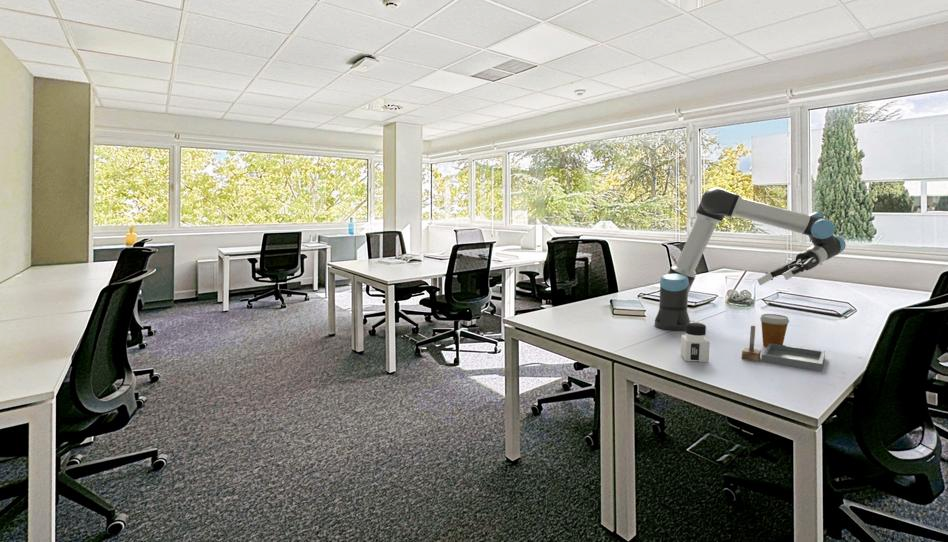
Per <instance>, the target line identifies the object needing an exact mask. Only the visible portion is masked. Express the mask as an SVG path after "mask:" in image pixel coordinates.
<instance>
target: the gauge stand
mask: <svg viewBox="0 0 948 542" xmlns="http://www.w3.org/2000/svg"><path fill="white" fill-rule="evenodd" d="M749 333H750V334H749V336H750V337H749V347H744V348H743V350H742V351H741V360H745V361H752V362H756V361H757V362H759V361H760V359H761V349H757V348H755V341H756V340H755V338H756V325H754V324H753V325H750V332H749Z"/></svg>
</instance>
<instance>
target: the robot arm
mask: <svg viewBox="0 0 948 542" xmlns="http://www.w3.org/2000/svg"><path fill="white" fill-rule="evenodd" d="M695 215H696V217H697V218H696V219H695V222H694V223H693V226H692V229H691V231H690V233H689V235H688V238H687V239H686V241H685V243H684V246H683V249H682V251H681V253H680V254H679V257H678V258H677V262H676V264H675V265H673V266H670V268H669V270H668V272H667V273H666V274H663V275H661V277H660V281H659V284H660V289H659V306H658V307H659V308H658V312H657V314H656V316H655V319H654V326H655V327H657V328H658V327H659V329H661V328H662V330H666V329H668V330H669V331H686V324H687V323H690V322H691V319H690V316H689V313H688V300H689V299H688V296H689V292H690V290H691V288H692V286H693V283H694V281H695V279H696V274H695V271H696V269H697V268H698V265H699V263H700V260H701V258H702V257H703V256H702V255H703V254H704V252H705V250H706V248H707V245H708V244H709V241H710V239H711V237H712V235H713V233H714V231H715V228H716V226H717V225H718V224H719V223H722V222H723V221H724V218H725V217H729V218H732V217H739V218H743V219H745V220H746V219H747V220H750V221H753V222H757V223H761V224H764V225H769V226H772V227H777V228H778V229H784V230H787V231H790V232H795V233H798V234H802V235H805V236H808V237H809V239H810V241H811V243H812V244H813V245H812V246H810V247H808V248H806V249H804V250H803V251H801V252H799V253H798V254H797V255H796V256H795V259H794V260H792V261H791V262H787V263H786V264H783V265H781V266H779V267H776V268H775V269H772V270H770V271H768V272H765V274H764V275H762V276H761V277H759V278H757V279H756V281H757V283H758V284H759V286H762V285H764V284H766V283H767V282H770V281H773V280H774V278H776V277H779V276H781V275H783V277H784V279H785V280H786V281H788V280H789V279H791V278H793V277H795V276H796V275H798V274H800V273H803V272H804V271H810V270H812V269H814V268H816V267H818V266H819V265H820V266H821V265H823V263H824V262H827V261H828V260H829V259H831V258H833V257H835V256H838V255H839V254H841V253H842V252H844V250H845V249H846V247H847V245H846V241H845V240H844V239H843V238H842V237H841V236H839V235H834V233H835V231H836V227H835V224H834V223H833V222H832V221H831V220H830V219H826V218H824V216H823V215H822V214H821V213H820V212H819V211H816V212H812V213H810V214H805V213H802V212H798V211H794V210H789V209H785V208H782V207H779V206H774V205H772V204H771V205H769V204H766V203H762V202H757V201H755V200H751V199H746V198H743V197H742V196H741V194H738V193H734V192H732V191H729V190H727V189H724V188H722V187H712V188H709V189H707V190H706V191H705V192H704V193H703V194H702V197H701V199H700V202H699V205H698V206H697V209H696V212H695Z"/></svg>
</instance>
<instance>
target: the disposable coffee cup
mask: <svg viewBox="0 0 948 542" xmlns="http://www.w3.org/2000/svg"><path fill="white" fill-rule="evenodd" d="M759 320H760V323H761V324H760V325H761V333H762V336H761V337H762V346H763V347H764V348H767V346H768V344H769V343H772V344H778V345H784V341H785V336H786V332H787V328H788V324H789V323H790V320H789V316H786V315H782V314H778V313H777V314H776V313H764V314H761V316H760V317H759Z"/></svg>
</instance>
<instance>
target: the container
mask: <svg viewBox="0 0 948 542" xmlns="http://www.w3.org/2000/svg"><path fill="white" fill-rule="evenodd" d="M706 334H707V326H706V325H705V324H704V323H702V322H694V321H690V323H687V324H686V330H685V334H682V335H681V336H680V337H681V340H680V356H681V358H683V361H685V362H689V361H699V362H698V363H709V362H710V360H709V359H710V341H709V340H708V339H707V338H706V336H707V335H706Z"/></svg>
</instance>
